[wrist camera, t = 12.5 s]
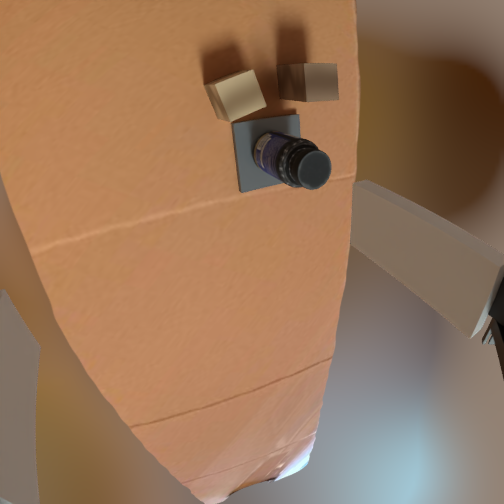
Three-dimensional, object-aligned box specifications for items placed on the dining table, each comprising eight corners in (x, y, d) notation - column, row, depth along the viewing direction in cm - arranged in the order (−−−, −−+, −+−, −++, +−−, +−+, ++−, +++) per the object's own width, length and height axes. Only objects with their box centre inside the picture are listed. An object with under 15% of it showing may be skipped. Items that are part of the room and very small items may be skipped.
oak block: (203, 85, 36) (214, 84, 32) (237, 71, 36) (253, 69, 33) (217, 118, 39) (230, 122, 35) (250, 104, 39) (266, 106, 35)
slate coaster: (231, 123, 40) (233, 123, 39) (296, 113, 43) (299, 114, 42) (239, 191, 45) (241, 192, 44) (299, 177, 48) (302, 178, 47)
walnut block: (276, 65, 38) (303, 63, 32) (307, 64, 39) (336, 63, 34) (279, 98, 41) (306, 102, 35) (309, 96, 42) (338, 99, 36)
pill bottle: (257, 178, 44) (297, 204, 35) (245, 138, 41) (285, 155, 32) (294, 162, 45) (340, 184, 37) (284, 124, 42) (331, 137, 33)
